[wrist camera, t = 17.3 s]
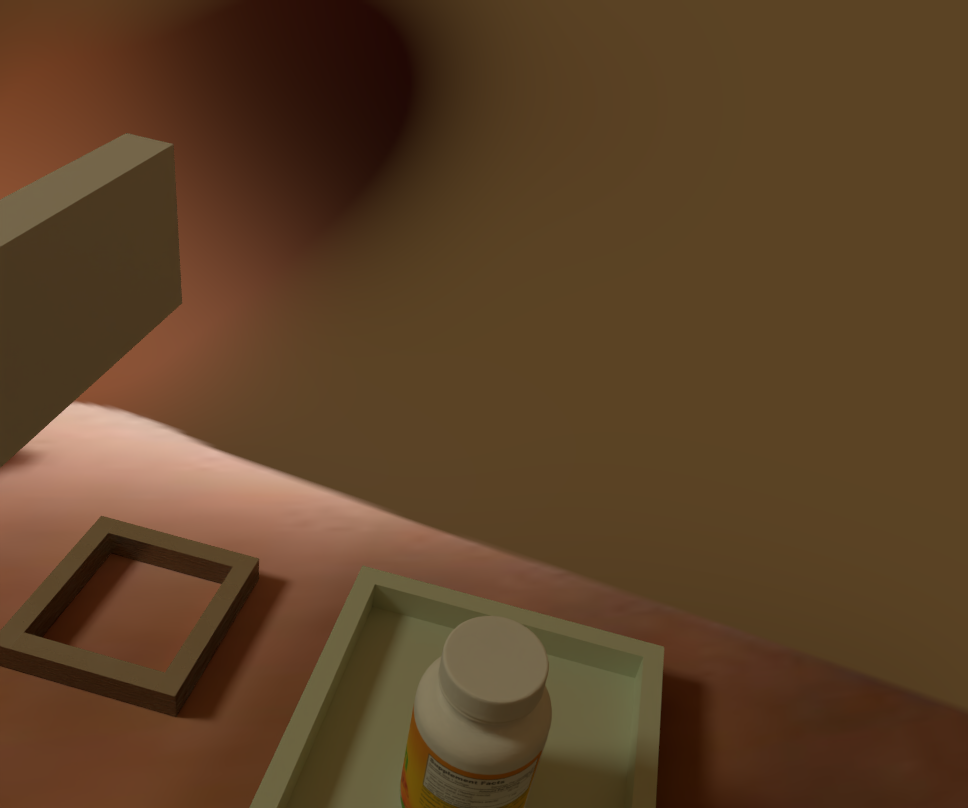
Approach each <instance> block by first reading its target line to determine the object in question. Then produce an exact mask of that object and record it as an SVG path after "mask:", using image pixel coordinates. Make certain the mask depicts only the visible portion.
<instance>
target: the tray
mask: <svg viewBox="0 0 968 808" xmlns="http://www.w3.org/2000/svg"><path fill="white" fill-rule="evenodd" d="M481 616H499V617H504V618H508V619H511V620H514V621H516V622H518V623H520V624H522V625H524V626H525V627H527V628H528V629H529V630H531V631H532V632H533V633H534V634H535V635H536V636H537V637H538V639H539V640H540V641H541V643H542V644H543V646H544V648H545V650H546V653H547V656H548V661H549V671H548V676H547V680H546V684H545V686H546V688H547V690H548V693H549V696H550V700H551V706H552V720H551V726H550V730H549V734H548V737H547V741H546V744H545V747H544V750H543V753H542V756H541V759H540V762H539V765H538V768H537V771H536V774H535V778H534V781H533V784H532V787H531V790H530V793H529V796H528V800H527V803H526V806H525V808H656V794H657V774H658V755H659V736H660V717H661V697H662V678H663V659H664V647H663V646H659V645H655V644H652V643H648V642H644V641H641V640H637V639H633V638H629V637H626V636H622V635H618V634H615V633H611V632H607V631H603V630H600V629H596V628H592V627H589V626H585V625H581V624H577V623H574V622H570V621H566V620H563V619H559V618H555V617H551V616H548V615H544V614H540V613H537V612H533V611H529V610H525V609H522V608H518V607H514V606H511V605H507V604H503V603H499V602H496V601H492V600H488V599H485V598H481V597H477V596H474V595H470V594H466V593H462V592H459V591H455V590H451V589H448V588H444V587H440V586H436V585H433V584H429V583H425V582H422V581H418V580H414V579H410V578H407V577H403V576H399V575H396V574H392V573H388V572H384V571H381V570H377V569H373V568H370V567H366V566H362V568H361V570H360V572H359V574H358V576H357V579H356V581H355V583H354V585H353V587H352V589H351V591H350V594H349V596H348V598H347V600H346V602H345V604H344V606H343V609H342V611H341V613H340V615H339V617H338V619H337V621H336V624H335V626H334V628H333V630H332V632H331V634H330V636H329V639H328V641H327V643H326V645H325V647H324V649H323V651H322V654H321V656H320V658H319V660H318V662H317V664H316V666H315V669H314V671H313V673H312V675H311V677H310V679H309V681H308V684H307V686H306V688H305V690H304V692H303V694H302V696H301V699H300V701H299V703H298V705H297V707H296V709H295V711H294V714H293V716H292V718H291V720H290V722H289V724H288V726H287V729H286V731H285V733H284V735H283V737H282V739H281V741H280V744H279V746H278V748H277V750H276V752H275V754H274V756H273V759H272V761H271V763H270V765H269V767H268V769H267V771H266V774H265V776H264V778H263V780H262V782H261V784H260V786H259V789H258V791H257V793H256V795H255V797H254V799H253V801H252V804H251V806H250V808H401V806H400V798H399V792H400V781H401V775H402V769H403V763H404V757H405V751H406V745H407V739H408V734H409V729H410V723H411V717H412V711H413V706H414V700H415V696H416V691H417V688H418V685H419V682H420V680H421V678H422V676H423V675H424V673H425V672H426V670H427V669H428V667H429V666H430V665H431V664H432V663H433V662H434V661H435V660H437V659H438V658H439V657H441V656H442V652H443V647H444V644H445V642H446V639H447V638H448V636H449V635H450V633H451V632H452V631H453V630H454V629H455V628H456V627H457V626H458V625H460V624H461V623H463V622H465V621H467V620H469V619H472V618H476V617H481Z"/></svg>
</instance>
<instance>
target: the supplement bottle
mask: <svg viewBox="0 0 968 808" xmlns="http://www.w3.org/2000/svg"><path fill="white" fill-rule="evenodd" d="M548 671H549V661H548V656H547V653H546V650H545V648H544V646H543V644H542V643H541V641H540V640H539V639H538V637H537V636H536V635H535V634H534V633H533V632H532V631H531V630H529V629H528V628H527V627H525V626H524V625H522V624H520V623H518V622H516V621H514V620H511V619H508V618H504V617H499V616H481V617H476V618H472V619H469V620H467V621H465V622H463V623H461V624H460V625H458V626H457V627H456V628H455V629H454V630H453V631H452V632H451V633H450V635H449V636H448V638H447V639H446V642H445V644H444V647H443V652H442V656H441V657H439V658H438V659H437V660H435V661H434V662H433V663H432V664H431V665H430V666H429V667H428V669H427V670H426V672H425V673H424V675H423V676H422V678H421V680H420V682H419V685H418V688H417V691H416V696H415V700H414V706H413V711H412V717H411V723H410V729H409V734H408V739H407V745H406V751H405V757H404V763H403V769H402V775H401V781H400V792H399V798H400V806H401V808H525V806H526V803H527V800H528V796H529V793H530V790H531V787H532V784H533V781H534V778H535V774H536V771H537V768H538V765H539V762H540V759H541V756H542V753H543V750H544V747H545V744H546V741H547V737H548V734H549V730H550V726H551V720H552V706H551V700H550V696H549V693H548V690H547V688H546V686H545V684H546V680H547V676H548Z"/></svg>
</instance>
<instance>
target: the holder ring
mask: <svg viewBox="0 0 968 808" xmlns="http://www.w3.org/2000/svg"><path fill="white" fill-rule="evenodd" d="M110 553H113V554H117V555H120V556H124V557H127V558H131V559H135V560H138V561H142V562H146V563H149V564H153V565H156V566H160V567H164V568H167V569H171V570H175V571H178V572H182V573H186V574H189V575H193V576H196V577H200V578H204V579H207V580H211V581H215V582H218V583H222V585H221V586H220V588H219V589H218V591H217V593H216V594H215V596H214V597H213V599H212V600H211V602H210V603H209V605H208V607H207V608H206V610H205V611H204V613H203V614H202V616H201V617H200V619H199V621H198V622H197V624H196V625H195V627H194V628H193V630H192V632H191V633H190V635H189V636H188V638H187V639H186V641H185V642H184V644H183V646H182V647H181V649H180V650H179V652H178V653H177V655H176V656H175V658H174V660H173V661H172V663H171V664H170V666H169V667H168V669H167V671H166V672H165V673H164V672H161V671H157V670H154V669H150V668H147V667H143V666H140V665H136V664H133V663H129V662H126V661H122V660H119V659H115V658H112V657H108V656H105V655H101V654H98V653H94V652H91V651H87V650H84V649H80V648H77V647H73V646H70V645H66V644H63V643H59V642H56V641H52V640H49V639H45V638H42V636H43V635H44V634H45V633H46V631H47V630H48V629H49V628H50V626H51V625H52V624H53V623H54V622H55V620H56V619H57V618H58V617H59V615H60V614H61V613H62V612H63V611H64V609H65V608H66V607H67V606H68V605H69V603H70V602H71V601H72V600H73V598H74V597H75V596H76V595H77V594H78V592H79V591H80V590H81V589H82V588H83V586H84V585H85V584H86V583H87V581H88V580H89V579H90V578H91V577H92V575H93V574H94V573H95V572H96V570H97V569H98V568H99V567H100V566H101V564H102V563H103V562H104V561H105V560H106V558H107V557H108V556H109V555H110ZM258 579H259V559H258V558H255V557H251V556H247V555H244V554H240V553H236V552H233V551H229V550H225V549H222V548H218V547H214V546H211V545H207V544H203V543H200V542H196V541H192V540H188V539H185V538H181V537H177V536H174V535H170V534H166V533H163V532H159V531H155V530H152V529H148V528H144V527H141V526H137V525H133V524H130V523H126V522H122V521H119V520H115V519H111V518H107V517H104V516H101V517H100V518H99V519H98V520H97V521H96V523H95V524H94V525H93V526H92V527H91V528H90V529H89V530H88V532H87V533H86V534H85V535H84V536H83V537H82V538H81V540H80V541H79V542H78V543H77V544H76V545H75V546H74V548H73V549H72V550H71V551H70V552H69V553H68V554H67V555H66V557H65V558H64V559H63V560H62V561H61V562H60V563H59V565H58V566H57V567H56V568H55V569H54V570H53V571H52V573H51V574H50V575H49V576H48V577H47V578H46V579H45V580H44V582H43V583H42V584H41V585H40V586H39V587H38V588H37V590H36V591H35V592H34V593H33V594H32V595H31V596H30V598H29V599H28V600H27V601H26V602H25V603H24V604H23V605H22V607H21V608H20V609H19V610H18V611H17V612H16V613H15V615H14V616H13V617H12V618H11V619H10V620H9V621H8V623H7V624H6V625H5V626H4V627H3V628H2V629H1V630H0V666H3V667H7V668H10V669H14V670H17V671H21V672H24V673H27V674H31V675H34V676H38V677H41V678H45V679H48V680H52V681H55V682H58V683H62V684H65V685H69V686H72V687H76V688H79V689H82V690H86V691H89V692H93V693H96V694H100V695H103V696H107V697H110V698H113V699H117V700H120V701H124V702H127V703H131V704H134V705H137V706H141V707H144V708H148V709H151V710H155V711H158V712H162V713H165V714H168V715H172V716H175V717H177V715H178V713H179V712H180V710H181V708H182V707H183V705H184V703H185V702H186V700H187V698H188V696H189V695H190V693H191V691H192V690H193V688H194V686H195V685H196V683H197V681H198V680H199V678H200V676H201V675H202V673H203V671H204V670H205V668H206V666H207V665H208V663H209V661H210V660H211V658H212V656H213V655H214V653H215V651H216V650H217V648H218V646H219V645H220V643H221V641H222V640H223V638H224V636H225V634H226V633H227V631H228V629H229V628H230V626H231V624H232V623H233V621H234V619H235V618H236V616H237V614H238V613H239V611H240V609H241V608H242V606H243V604H244V603H245V601H246V599H247V598H248V596H249V594H250V593H251V591H252V589H253V588H254V586H255V584H256V583H257V581H258Z"/></svg>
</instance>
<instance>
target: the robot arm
mask: <svg viewBox="0 0 968 808" xmlns="http://www.w3.org/2000/svg"><path fill="white" fill-rule="evenodd" d="M179 258H180V256H179V239H178V219H177V201H176V183H175V166H174V146H173V144H171V143H166V142H162V141H157V140H153V139H149V138H145V137H140V136H136V135H132V134H127V133H126V134H124V135H122V136H120V137H118V138H117V139H115V140H113V141H111V142H109V143H107V144H105V145H103V146H101V147H100V148H98V149H96V150H94V151H92V152H90V153H88V154H86V155H84V156H82V157H81V158H79V159H77V160H75V161H73V162H71V163H69V164H67V165H65V166H63V167H61V168H60V169H58V170H56V171H54V172H52V173H50V174H48V175H46V176H44V177H43V178H41V179H39V180H37V181H35V182H33V183H31V184H29V185H27V186H25V187H23V188H22V189H20V190H18V191H16V192H14V193H12V194H10V195H8V196H6V197H4V198H2V199H1V200H0V467H2V466H3V465H4V464H5V463H6V462H7V461H8V460H9V459H10V458H11V457H13V456H14V455H15V454H16V453H17V452H18V451H19V450H20V449H21V448H23V447H24V446H25V445H26V444H27V443H28V442H29V441H30V440H31V439H32V438H34V437H35V436H36V435H37V434H38V433H39V432H40V431H41V430H42V429H44V428H45V427H46V426H47V425H48V424H49V423H50V422H51V421H52V420H53V419H55V418H56V417H57V416H58V415H59V414H60V413H61V412H62V411H63V410H65V409H66V408H67V407H68V406H69V405H70V404H71V403H72V402H73V401H74V400H76V399H77V398H78V397H79V396H80V395H81V394H82V393H83V392H84V391H86V390H87V389H88V388H89V387H90V386H91V385H92V384H93V383H94V382H95V381H96V380H98V379H99V378H100V377H101V376H102V375H103V374H104V373H105V372H106V371H108V370H109V369H110V368H111V367H112V366H113V365H114V364H115V363H116V362H117V361H119V360H120V359H121V358H122V357H123V356H124V355H125V354H126V353H127V352H129V350H131V349H132V348H133V347H134V346H135V345H136V344H137V343H139V342H140V341H141V340H142V339H143V338H144V337H145V336H146V335H147V334H148V333H149V332H151V331H152V330H153V329H154V328H155V327H156V326H157V325H158V324H160V323H161V322H162V321H163V320H164V319H165V318H166V317H167V316H168V315H169V314H170V313H172V312H173V311H174V310H175V309H176V308H177V307H178V306H179V305H181V304H182V294H181V277H180V276H181V275H180V259H179Z"/></svg>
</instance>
